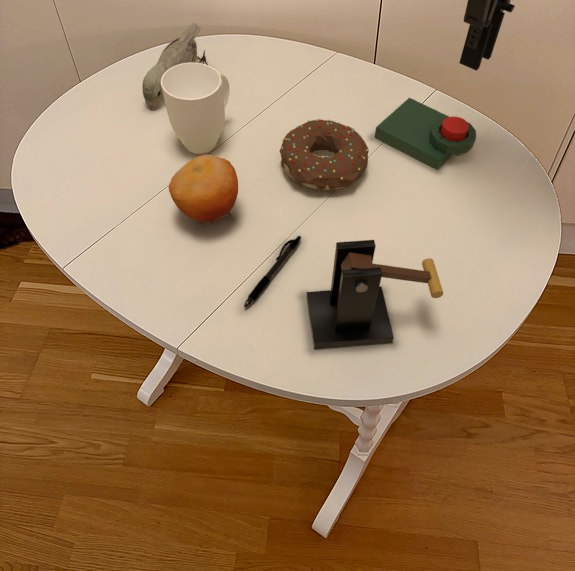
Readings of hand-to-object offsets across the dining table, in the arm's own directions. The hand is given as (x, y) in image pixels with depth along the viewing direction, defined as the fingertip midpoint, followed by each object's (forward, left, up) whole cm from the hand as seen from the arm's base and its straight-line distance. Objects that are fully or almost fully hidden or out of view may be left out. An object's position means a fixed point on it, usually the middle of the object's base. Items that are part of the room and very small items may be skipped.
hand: (475, 60), depth 83 cm
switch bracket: (-6, +36, -17) cm, 41 cm away
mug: (+32, +23, -17) cm, 43 cm away
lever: (-9, +34, -8) cm, 36 cm away
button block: (+4, 0, -17) cm, 17 cm away
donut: (+13, +16, -17) cm, 27 cm away
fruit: (+20, +35, -17) cm, 44 cm away
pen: (+6, +37, -17) cm, 41 cm away
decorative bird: (+46, +16, -17) cm, 51 cm away
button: (0, 0, -13) cm, 13 cm away
